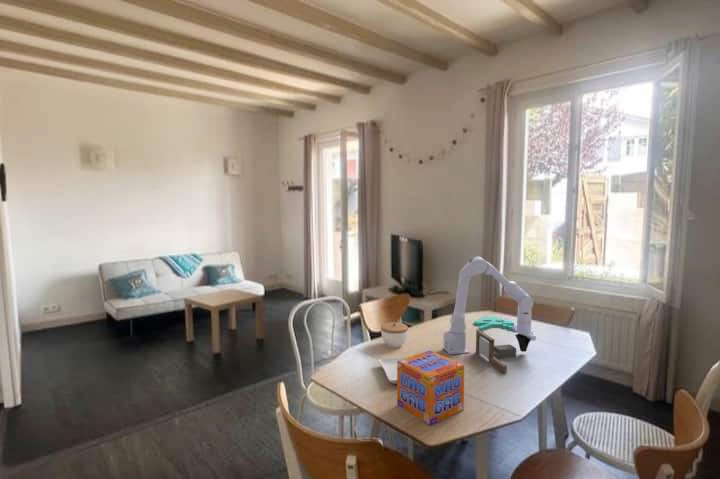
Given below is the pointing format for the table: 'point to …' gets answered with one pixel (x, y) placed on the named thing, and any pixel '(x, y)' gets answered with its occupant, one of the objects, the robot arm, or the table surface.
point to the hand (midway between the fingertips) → (523, 351)
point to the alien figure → (493, 323)
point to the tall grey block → (504, 351)
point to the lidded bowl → (394, 334)
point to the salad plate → (390, 367)
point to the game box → (430, 386)
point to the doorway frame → (490, 351)
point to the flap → (484, 347)
